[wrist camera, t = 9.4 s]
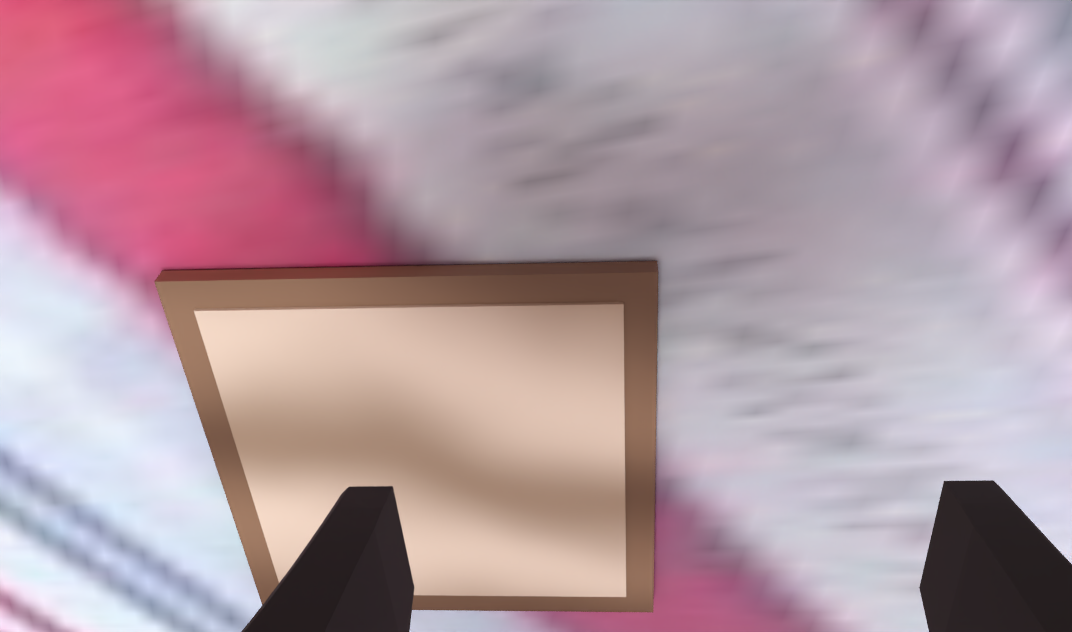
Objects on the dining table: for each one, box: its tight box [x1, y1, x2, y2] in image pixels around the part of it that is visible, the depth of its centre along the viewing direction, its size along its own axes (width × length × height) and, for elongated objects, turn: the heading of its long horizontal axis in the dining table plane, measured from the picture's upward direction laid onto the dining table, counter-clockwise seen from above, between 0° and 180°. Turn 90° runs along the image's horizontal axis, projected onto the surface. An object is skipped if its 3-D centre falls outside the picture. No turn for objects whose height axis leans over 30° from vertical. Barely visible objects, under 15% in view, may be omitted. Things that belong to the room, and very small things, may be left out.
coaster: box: [155, 261, 658, 612], centre depth 26 cm, size 12×12×1 cm
